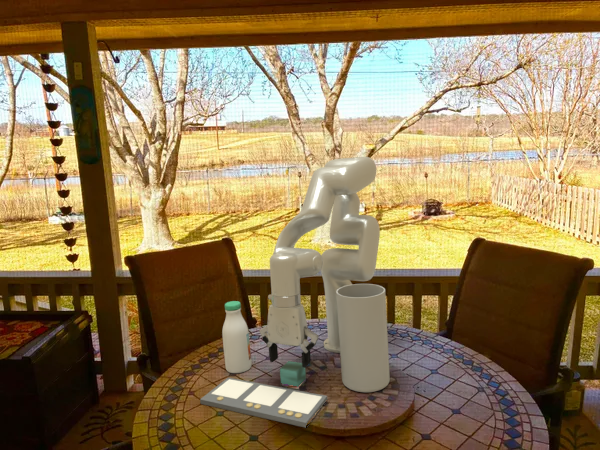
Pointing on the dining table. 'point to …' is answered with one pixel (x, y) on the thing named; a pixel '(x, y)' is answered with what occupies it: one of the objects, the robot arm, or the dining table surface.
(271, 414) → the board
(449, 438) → the dining table surface
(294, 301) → the robot arm
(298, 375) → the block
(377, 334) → the cylinder vase
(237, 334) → the milk bottle
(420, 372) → the dining table surface
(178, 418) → the dining table surface
